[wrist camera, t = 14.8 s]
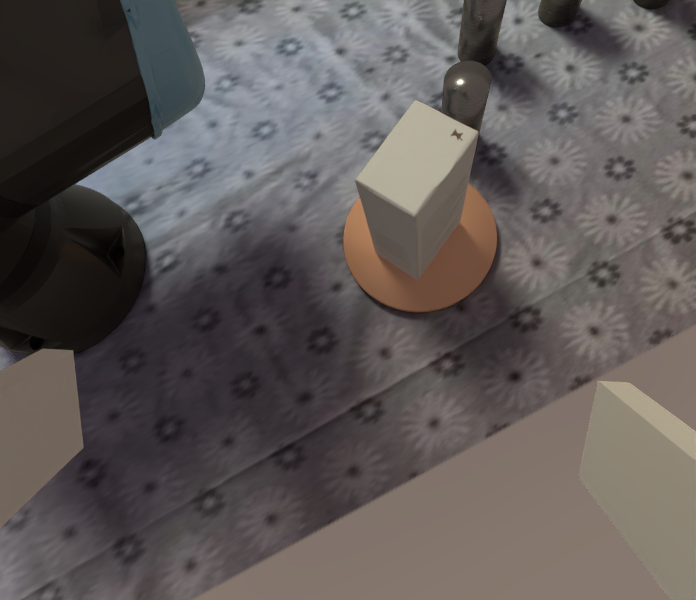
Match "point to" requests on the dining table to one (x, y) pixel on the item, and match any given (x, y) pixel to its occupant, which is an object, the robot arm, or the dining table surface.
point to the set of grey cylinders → (492, 53)
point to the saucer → (442, 273)
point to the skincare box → (417, 187)
